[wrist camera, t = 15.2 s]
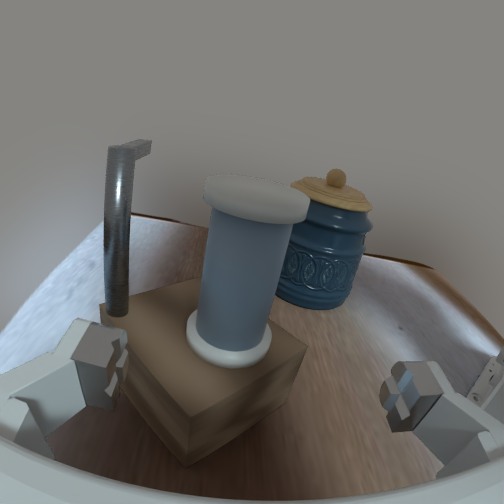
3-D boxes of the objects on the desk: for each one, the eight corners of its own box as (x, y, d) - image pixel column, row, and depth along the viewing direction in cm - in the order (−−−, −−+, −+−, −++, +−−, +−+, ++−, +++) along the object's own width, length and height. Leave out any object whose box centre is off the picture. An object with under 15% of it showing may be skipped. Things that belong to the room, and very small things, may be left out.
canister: (328, 324, 39) (375, 188, 32) (244, 282, 45) (271, 155, 38) (357, 289, 49) (392, 182, 42) (288, 258, 55) (313, 156, 48)
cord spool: (230, 306, 26) (256, 174, 22) (285, 346, 23) (329, 202, 18) (169, 328, 22) (184, 175, 18) (224, 381, 19) (261, 209, 14)
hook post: (145, 280, 27) (157, 141, 22) (124, 319, 22) (131, 150, 17) (126, 276, 27) (135, 138, 22) (102, 314, 22) (103, 147, 17)
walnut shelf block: (199, 331, 33) (207, 274, 30) (284, 402, 26) (308, 346, 23) (106, 366, 25) (99, 304, 23) (185, 468, 18) (190, 417, 16)
